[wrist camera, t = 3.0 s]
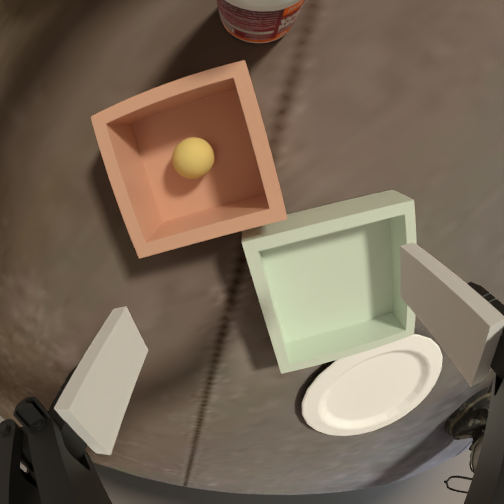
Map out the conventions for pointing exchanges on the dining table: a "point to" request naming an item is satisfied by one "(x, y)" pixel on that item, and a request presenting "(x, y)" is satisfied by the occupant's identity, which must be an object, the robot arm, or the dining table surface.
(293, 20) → the pill bottle
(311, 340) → the green tray
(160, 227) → the orange open box
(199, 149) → the yellow ball
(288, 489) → the dining table surface
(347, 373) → the plate
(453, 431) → the lantern
